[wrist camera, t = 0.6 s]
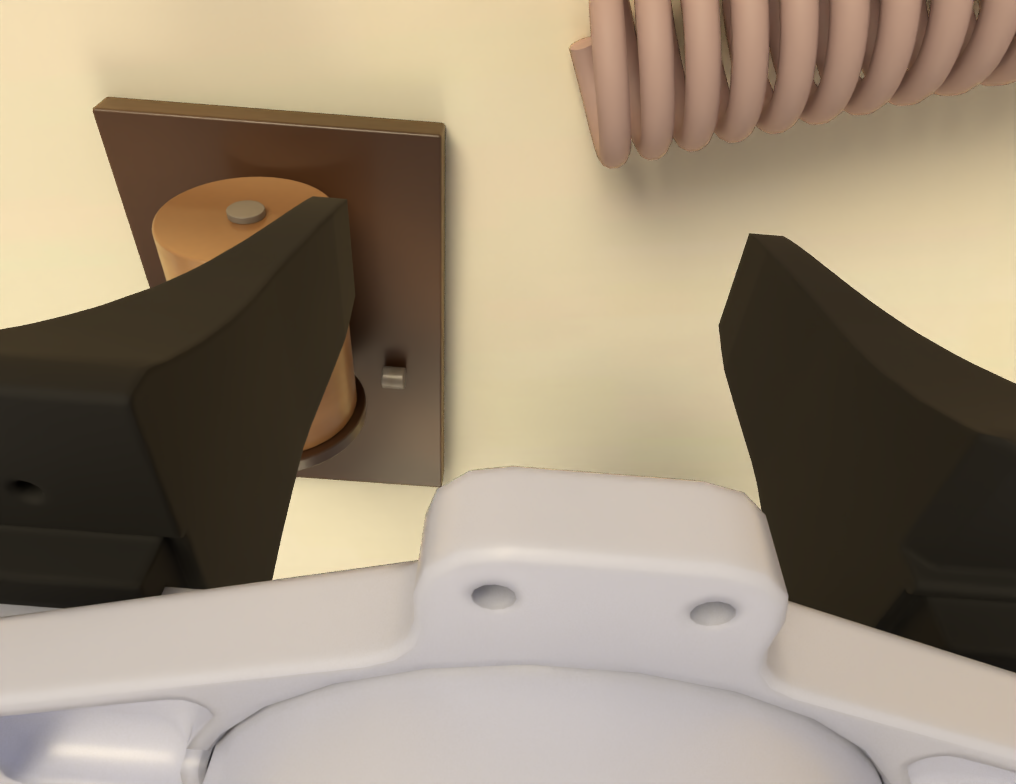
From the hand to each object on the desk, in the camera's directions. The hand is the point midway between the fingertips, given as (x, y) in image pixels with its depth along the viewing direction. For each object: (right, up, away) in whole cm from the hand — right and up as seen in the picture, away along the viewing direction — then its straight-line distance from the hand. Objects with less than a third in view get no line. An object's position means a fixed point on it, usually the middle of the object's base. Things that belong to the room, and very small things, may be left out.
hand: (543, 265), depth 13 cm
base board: (-8, 0, +13) cm, 15 cm away
